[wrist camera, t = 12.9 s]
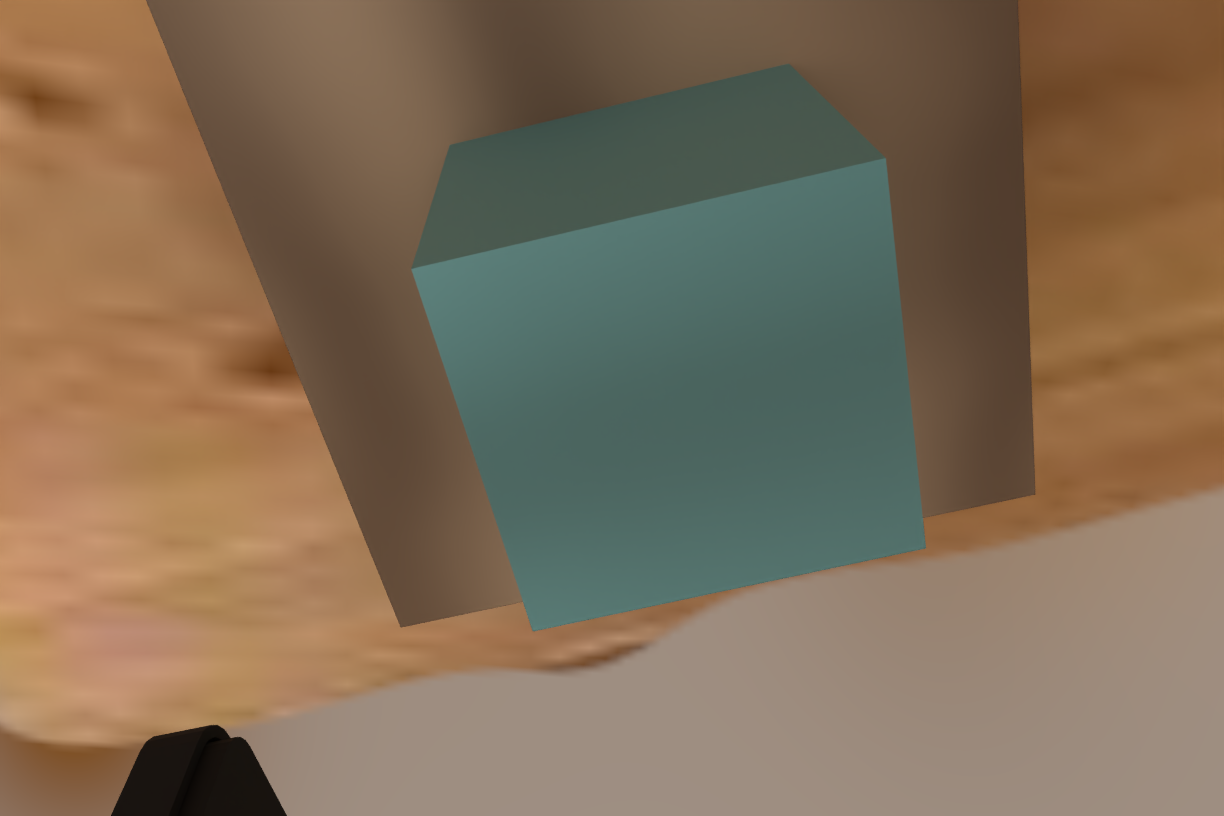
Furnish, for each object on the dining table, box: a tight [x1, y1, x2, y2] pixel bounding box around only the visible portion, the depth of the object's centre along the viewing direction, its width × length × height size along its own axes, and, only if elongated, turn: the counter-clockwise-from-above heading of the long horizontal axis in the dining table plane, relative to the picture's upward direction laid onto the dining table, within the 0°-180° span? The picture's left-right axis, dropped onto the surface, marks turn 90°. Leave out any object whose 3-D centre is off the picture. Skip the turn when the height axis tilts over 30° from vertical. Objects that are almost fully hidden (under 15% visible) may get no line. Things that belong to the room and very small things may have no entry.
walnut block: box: [146, 0, 1035, 627], centre depth 22 cm, size 14×14×5 cm
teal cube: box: [411, 64, 926, 631], centre depth 17 cm, size 6×6×6 cm
